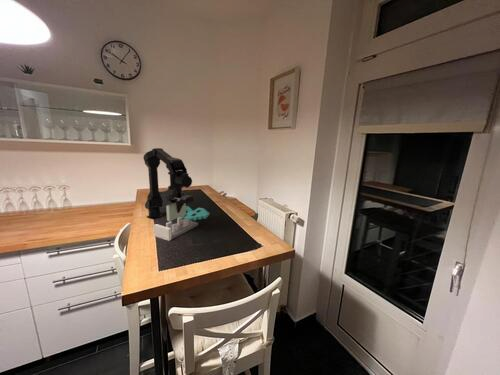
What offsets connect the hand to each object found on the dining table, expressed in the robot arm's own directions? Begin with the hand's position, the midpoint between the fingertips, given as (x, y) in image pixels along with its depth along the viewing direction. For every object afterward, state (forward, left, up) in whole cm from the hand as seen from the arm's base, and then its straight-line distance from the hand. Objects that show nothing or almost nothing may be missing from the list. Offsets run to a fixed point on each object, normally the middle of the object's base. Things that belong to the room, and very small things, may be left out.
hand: (177, 212), depth 112 cm
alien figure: (-8, +22, -11) cm, 26 cm away
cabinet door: (0, 0, -3) cm, 3 cm away
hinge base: (0, 0, -10) cm, 10 cm away
